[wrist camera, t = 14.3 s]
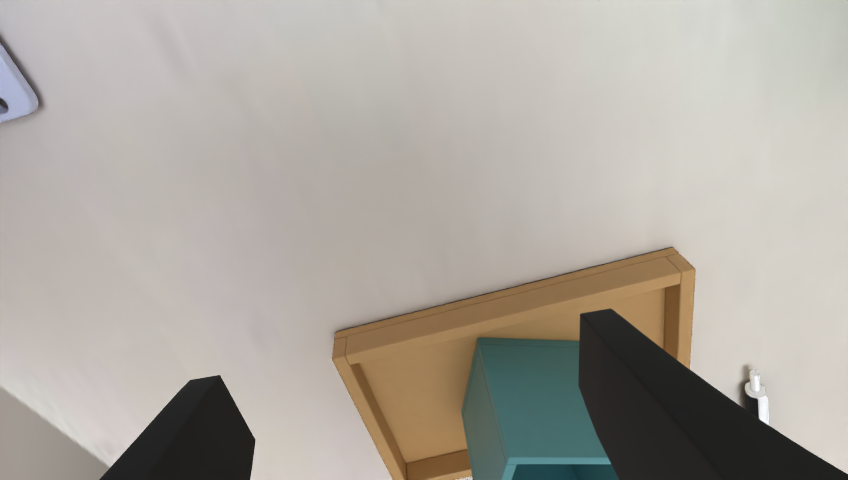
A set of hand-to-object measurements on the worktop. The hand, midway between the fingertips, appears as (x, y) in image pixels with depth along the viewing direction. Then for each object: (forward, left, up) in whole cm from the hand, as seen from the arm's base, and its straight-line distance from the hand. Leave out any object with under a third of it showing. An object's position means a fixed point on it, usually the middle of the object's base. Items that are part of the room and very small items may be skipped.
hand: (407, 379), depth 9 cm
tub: (+3, -11, -9) cm, 14 cm away
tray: (+3, -11, -9) cm, 15 cm away
